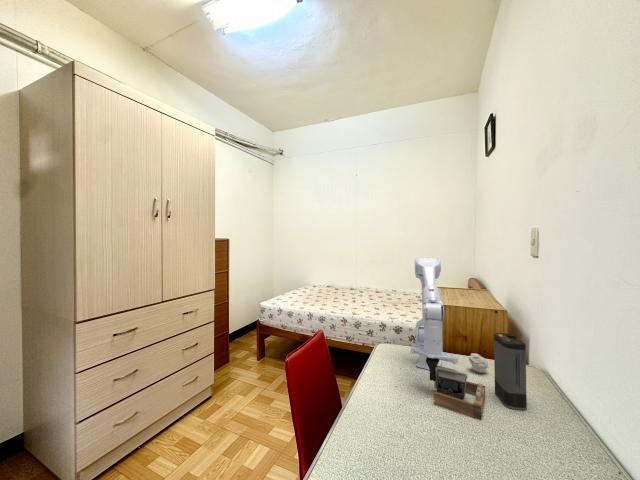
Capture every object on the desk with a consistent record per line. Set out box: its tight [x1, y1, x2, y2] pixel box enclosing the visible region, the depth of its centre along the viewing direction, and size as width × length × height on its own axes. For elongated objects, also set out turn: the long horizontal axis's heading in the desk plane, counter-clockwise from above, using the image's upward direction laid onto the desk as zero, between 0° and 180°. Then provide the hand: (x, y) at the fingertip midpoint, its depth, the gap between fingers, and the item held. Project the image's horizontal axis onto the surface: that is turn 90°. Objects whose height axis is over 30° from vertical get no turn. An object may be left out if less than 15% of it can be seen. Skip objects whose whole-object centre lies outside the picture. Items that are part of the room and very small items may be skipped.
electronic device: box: [493, 332, 528, 411], centre depth 83 cm, size 9×6×20 cm, turn 168°
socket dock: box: [433, 380, 486, 421], centre depth 83 cm, size 14×12×6 cm
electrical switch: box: [433, 365, 468, 400], centre depth 85 cm, size 9×5×9 cm, turn 67°
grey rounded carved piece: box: [467, 352, 489, 374], centre depth 101 cm, size 6×7×7 cm
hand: (433, 379), depth 87 cm, fingers closed, pressing on electrical switch
